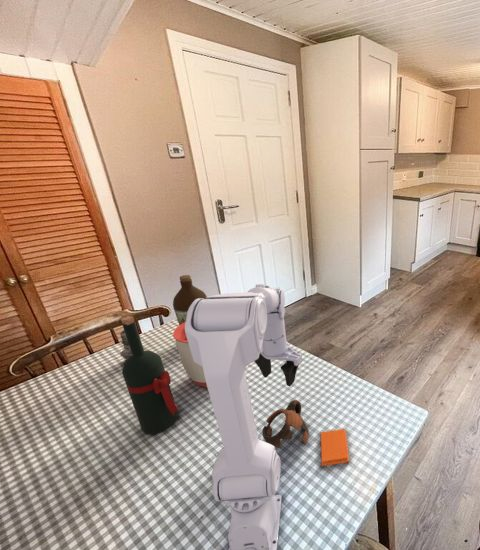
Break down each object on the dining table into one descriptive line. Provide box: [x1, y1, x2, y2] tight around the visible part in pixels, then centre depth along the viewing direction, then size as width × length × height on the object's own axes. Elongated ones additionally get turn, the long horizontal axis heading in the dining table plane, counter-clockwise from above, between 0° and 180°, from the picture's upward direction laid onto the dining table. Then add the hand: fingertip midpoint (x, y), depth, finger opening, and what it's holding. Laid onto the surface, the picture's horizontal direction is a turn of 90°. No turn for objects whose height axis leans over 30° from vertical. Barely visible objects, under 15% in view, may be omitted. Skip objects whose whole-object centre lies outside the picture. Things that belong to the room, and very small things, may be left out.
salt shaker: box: [119, 328, 132, 362], centre depth 98 cm, size 6×6×12 cm
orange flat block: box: [320, 428, 350, 467], centre depth 70 cm, size 8×6×1 cm
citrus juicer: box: [172, 322, 207, 387], centre depth 90 cm, size 16×17×20 cm
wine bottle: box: [120, 315, 180, 436], centre depth 71 cm, size 8×10×30 cm
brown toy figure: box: [261, 399, 310, 449], centre depth 73 cm, size 12×10×8 cm
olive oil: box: [172, 274, 208, 326], centre depth 106 cm, size 11×11×25 cm
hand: (278, 379), depth 78 cm, fingers open, 7 cm apart
